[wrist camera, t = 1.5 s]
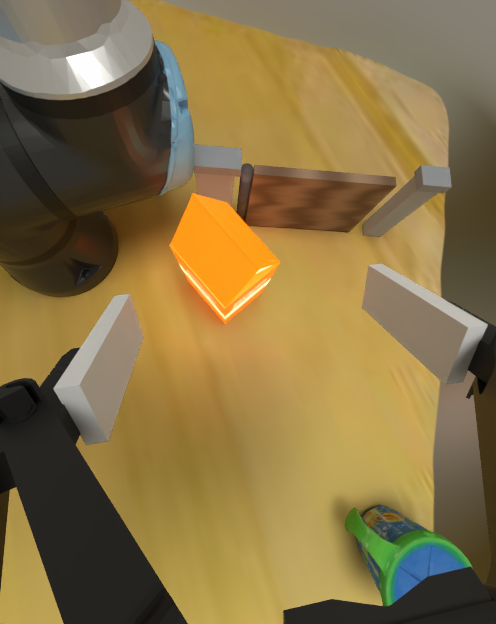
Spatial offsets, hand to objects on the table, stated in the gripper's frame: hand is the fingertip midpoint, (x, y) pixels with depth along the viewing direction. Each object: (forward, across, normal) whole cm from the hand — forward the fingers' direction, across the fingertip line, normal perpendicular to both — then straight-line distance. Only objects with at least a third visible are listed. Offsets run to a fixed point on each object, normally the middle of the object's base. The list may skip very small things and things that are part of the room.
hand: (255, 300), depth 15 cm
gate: (+32, +12, -3) cm, 34 cm away
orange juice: (+26, -1, -10) cm, 28 cm away
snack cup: (+2, +16, -41) cm, 44 cm away
